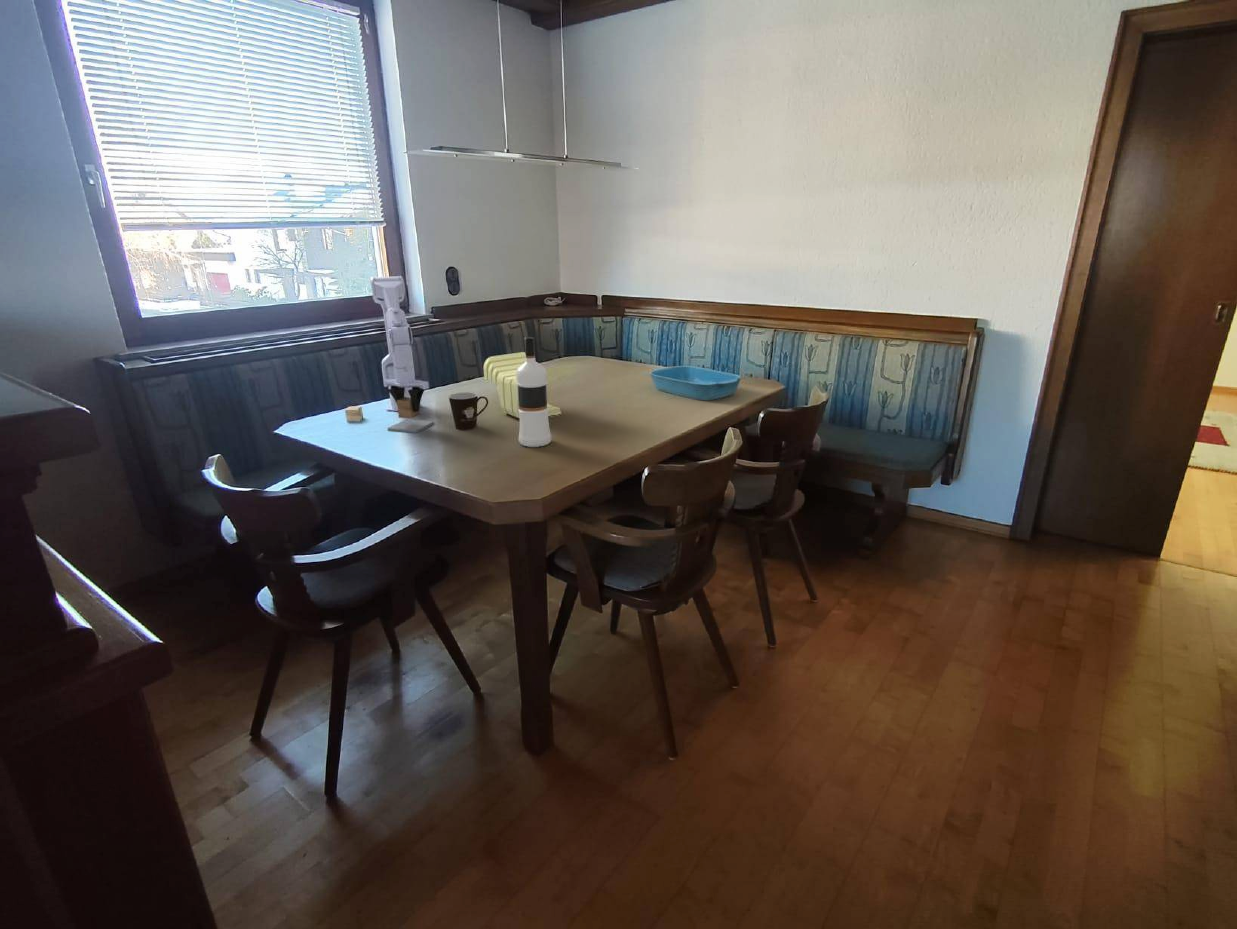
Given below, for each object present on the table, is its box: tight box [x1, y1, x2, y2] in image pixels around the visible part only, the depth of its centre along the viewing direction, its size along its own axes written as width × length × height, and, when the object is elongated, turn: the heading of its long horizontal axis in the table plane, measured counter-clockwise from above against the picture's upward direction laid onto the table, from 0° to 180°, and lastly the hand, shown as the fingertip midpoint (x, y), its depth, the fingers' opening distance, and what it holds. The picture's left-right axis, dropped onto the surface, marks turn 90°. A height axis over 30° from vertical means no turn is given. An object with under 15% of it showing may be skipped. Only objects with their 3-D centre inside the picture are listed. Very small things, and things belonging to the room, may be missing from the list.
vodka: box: [516, 336, 552, 448], centre depth 180 cm, size 9×9×30 cm
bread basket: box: [483, 351, 576, 419], centre depth 212 cm, size 30×16×18 cm, turn 39°
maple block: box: [344, 405, 364, 422], centre depth 211 cm, size 4×4×4 cm
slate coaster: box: [387, 418, 435, 434], centre depth 202 cm, size 10×10×1 cm
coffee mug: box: [448, 391, 489, 431], centre depth 200 cm, size 12×9×10 cm
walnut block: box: [397, 397, 421, 420], centre depth 200 cm, size 4×4×6 cm
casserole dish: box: [649, 365, 742, 401], centre depth 241 cm, size 37×22×7 cm, turn 39°
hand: (409, 410), depth 200 cm, fingers closed on walnut block, 4 cm apart
